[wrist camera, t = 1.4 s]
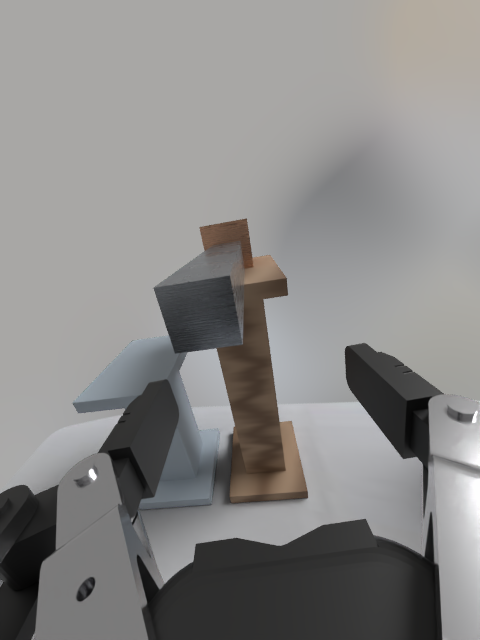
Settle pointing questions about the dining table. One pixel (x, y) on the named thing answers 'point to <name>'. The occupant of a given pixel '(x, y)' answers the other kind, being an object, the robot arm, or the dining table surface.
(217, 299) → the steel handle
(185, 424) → the low grey shelf
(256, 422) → the tall walnut post
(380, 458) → the dining table surface
